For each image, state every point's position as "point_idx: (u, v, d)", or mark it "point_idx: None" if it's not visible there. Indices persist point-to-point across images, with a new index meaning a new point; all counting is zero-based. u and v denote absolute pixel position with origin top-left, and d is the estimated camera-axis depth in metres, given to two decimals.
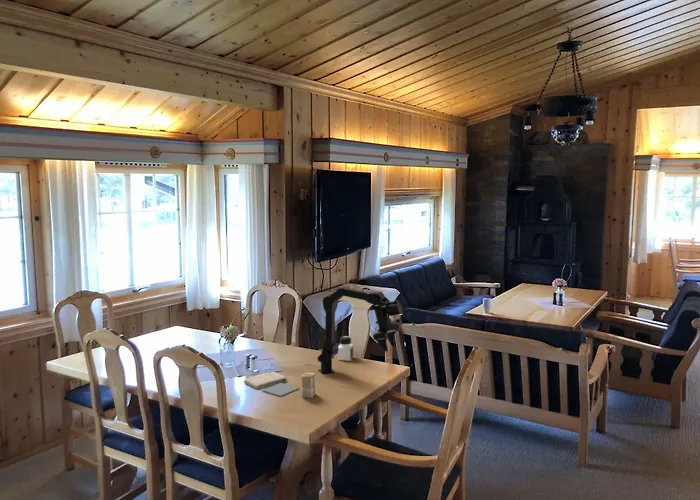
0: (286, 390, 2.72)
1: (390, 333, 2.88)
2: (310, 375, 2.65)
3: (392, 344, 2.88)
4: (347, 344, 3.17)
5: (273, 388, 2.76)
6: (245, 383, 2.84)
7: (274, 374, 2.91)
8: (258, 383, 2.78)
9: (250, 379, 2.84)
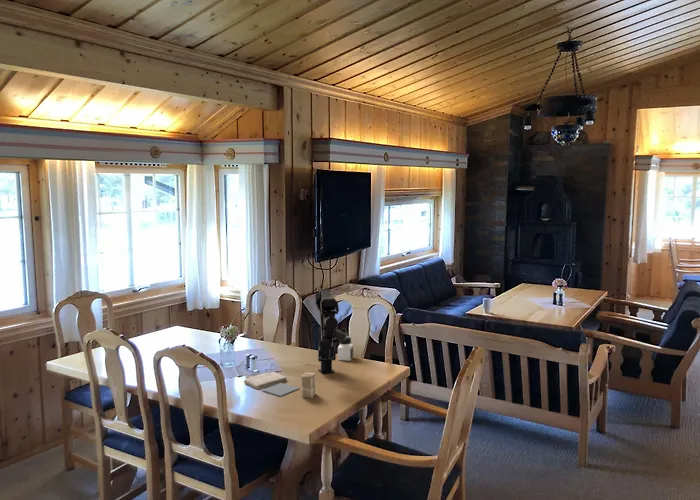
0: (286, 390, 2.72)
1: None
2: (310, 375, 2.65)
3: (332, 351, 2.85)
4: (347, 344, 3.17)
5: (273, 388, 2.76)
6: (245, 383, 2.84)
7: (274, 374, 2.91)
8: (258, 383, 2.78)
9: (250, 379, 2.84)
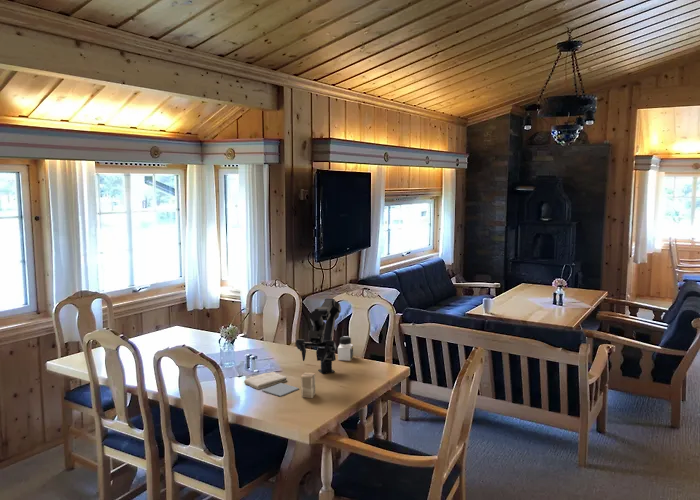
0: (286, 390, 2.72)
1: None
2: (310, 375, 2.65)
3: None
4: (347, 344, 3.17)
5: (273, 388, 2.76)
6: (245, 383, 2.83)
7: (274, 374, 2.91)
8: (259, 383, 2.78)
9: (251, 379, 2.84)
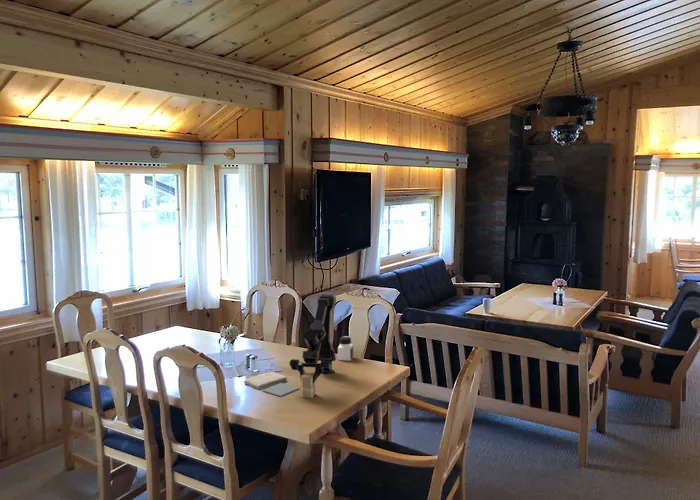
0: (286, 390, 2.72)
1: None
2: (310, 375, 2.65)
3: None
4: (347, 344, 3.17)
5: (273, 388, 2.76)
6: (245, 383, 2.83)
7: (274, 374, 2.91)
8: (259, 383, 2.78)
9: (251, 379, 2.83)
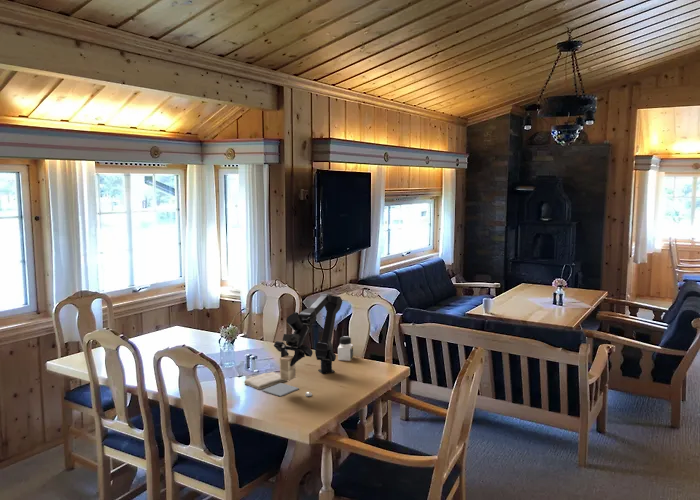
0: (286, 390, 2.72)
1: None
2: (288, 358, 2.68)
3: None
4: (347, 344, 3.17)
5: (273, 388, 2.76)
6: None
7: (274, 374, 2.91)
8: (260, 383, 2.78)
9: (251, 379, 2.83)
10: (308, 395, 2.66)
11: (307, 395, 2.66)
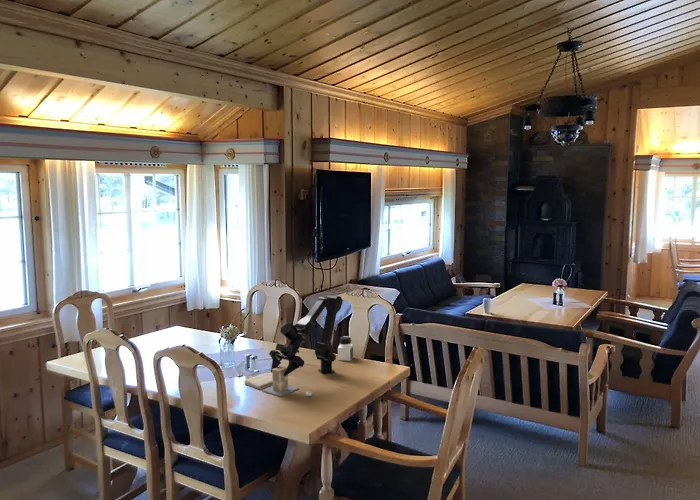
0: (286, 390, 2.72)
1: None
2: (280, 369, 2.72)
3: None
4: (347, 344, 3.17)
5: None
6: (246, 384, 2.83)
7: None
8: (260, 383, 2.78)
9: (251, 379, 2.83)
10: (308, 395, 2.66)
11: (307, 395, 2.66)
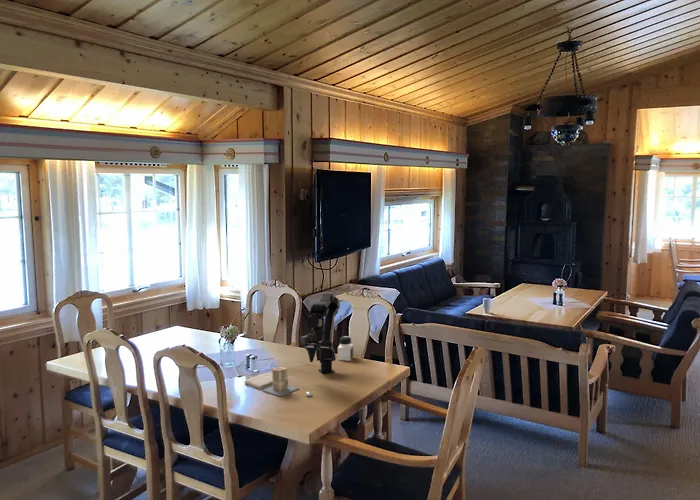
0: (286, 390, 2.72)
1: None
2: (280, 369, 2.72)
3: None
4: (347, 344, 3.17)
5: None
6: (246, 384, 2.82)
7: None
8: (260, 383, 2.78)
9: (251, 380, 2.83)
10: (308, 395, 2.66)
11: (307, 395, 2.66)
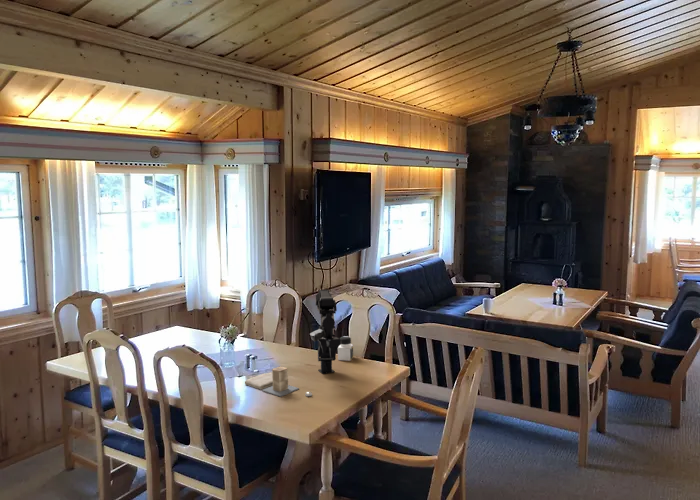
0: (286, 390, 2.72)
1: None
2: (280, 369, 2.72)
3: None
4: (347, 344, 3.17)
5: None
6: (246, 384, 2.82)
7: None
8: (261, 383, 2.78)
9: (251, 380, 2.83)
10: (308, 395, 2.66)
11: (307, 395, 2.66)
